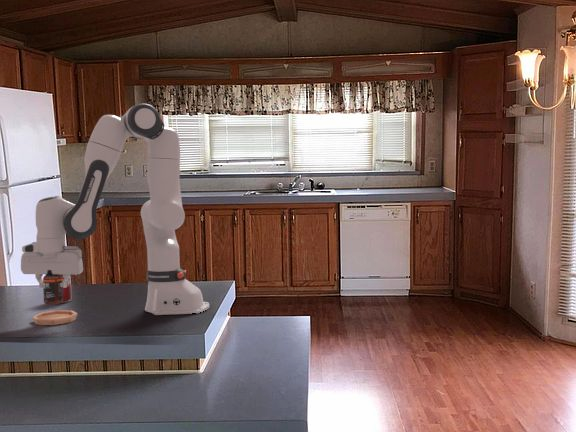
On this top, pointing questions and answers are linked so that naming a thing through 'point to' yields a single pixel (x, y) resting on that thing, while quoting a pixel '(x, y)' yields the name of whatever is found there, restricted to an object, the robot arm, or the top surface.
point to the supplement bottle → (52, 288)
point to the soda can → (67, 291)
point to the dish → (55, 317)
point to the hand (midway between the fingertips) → (53, 287)
